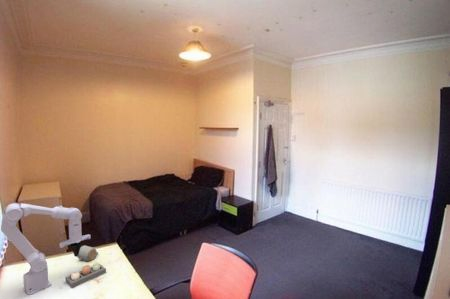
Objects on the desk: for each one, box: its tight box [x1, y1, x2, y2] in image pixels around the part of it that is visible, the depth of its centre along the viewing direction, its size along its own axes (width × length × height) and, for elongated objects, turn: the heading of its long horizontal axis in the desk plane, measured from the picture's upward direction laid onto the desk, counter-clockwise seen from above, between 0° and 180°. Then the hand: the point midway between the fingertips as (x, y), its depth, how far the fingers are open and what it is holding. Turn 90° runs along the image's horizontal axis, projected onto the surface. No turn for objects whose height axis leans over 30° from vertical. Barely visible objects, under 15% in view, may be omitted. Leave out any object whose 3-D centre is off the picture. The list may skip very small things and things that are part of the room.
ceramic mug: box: [76, 245, 99, 261], centre depth 149 cm, size 11×8×8 cm
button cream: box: [70, 271, 80, 281], centre depth 126 cm, size 4×4×4 cm
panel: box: [65, 264, 107, 289], centre depth 130 cm, size 17×8×2 cm, turn 142°
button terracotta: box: [81, 264, 91, 276], centre depth 130 cm, size 4×4×4 cm
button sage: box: [92, 263, 101, 272], centre depth 134 cm, size 4×4×4 cm
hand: (76, 255), depth 132 cm, fingers closed
